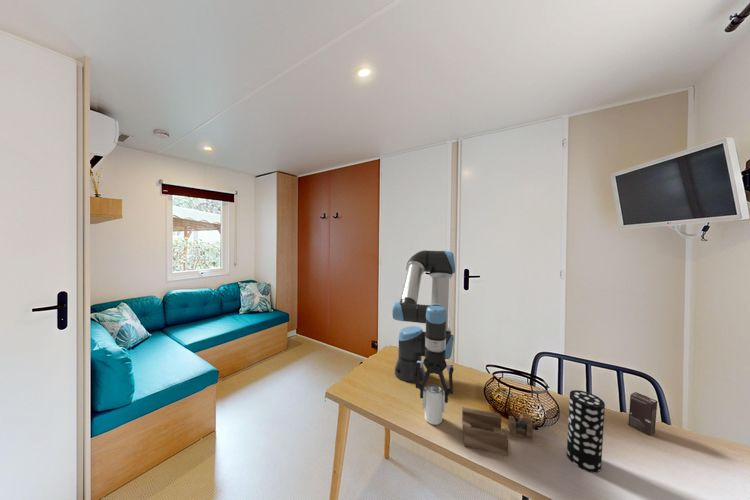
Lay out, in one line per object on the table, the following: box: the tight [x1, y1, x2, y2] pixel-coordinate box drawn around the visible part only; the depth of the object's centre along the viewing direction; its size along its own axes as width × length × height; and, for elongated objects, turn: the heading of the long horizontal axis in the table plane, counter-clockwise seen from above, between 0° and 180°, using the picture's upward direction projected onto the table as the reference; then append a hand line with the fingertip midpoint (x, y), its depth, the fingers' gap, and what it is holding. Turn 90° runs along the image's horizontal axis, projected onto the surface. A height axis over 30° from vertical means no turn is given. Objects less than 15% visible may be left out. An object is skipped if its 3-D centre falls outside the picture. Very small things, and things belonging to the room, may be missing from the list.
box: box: [627, 391, 658, 437], centre depth 93 cm, size 6×4×12 cm
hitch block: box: [461, 406, 533, 457], centre depth 87 cm, size 14×23×5 cm, turn 75°
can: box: [424, 384, 443, 426], centre depth 96 cm, size 6×6×12 cm
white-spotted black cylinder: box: [566, 389, 606, 473], centre depth 79 cm, size 8×8×20 cm
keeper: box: [516, 412, 532, 430], centre depth 87 cm, size 11×3×2 cm
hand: (433, 407), depth 96 cm, fingers closed on can, 6 cm apart
